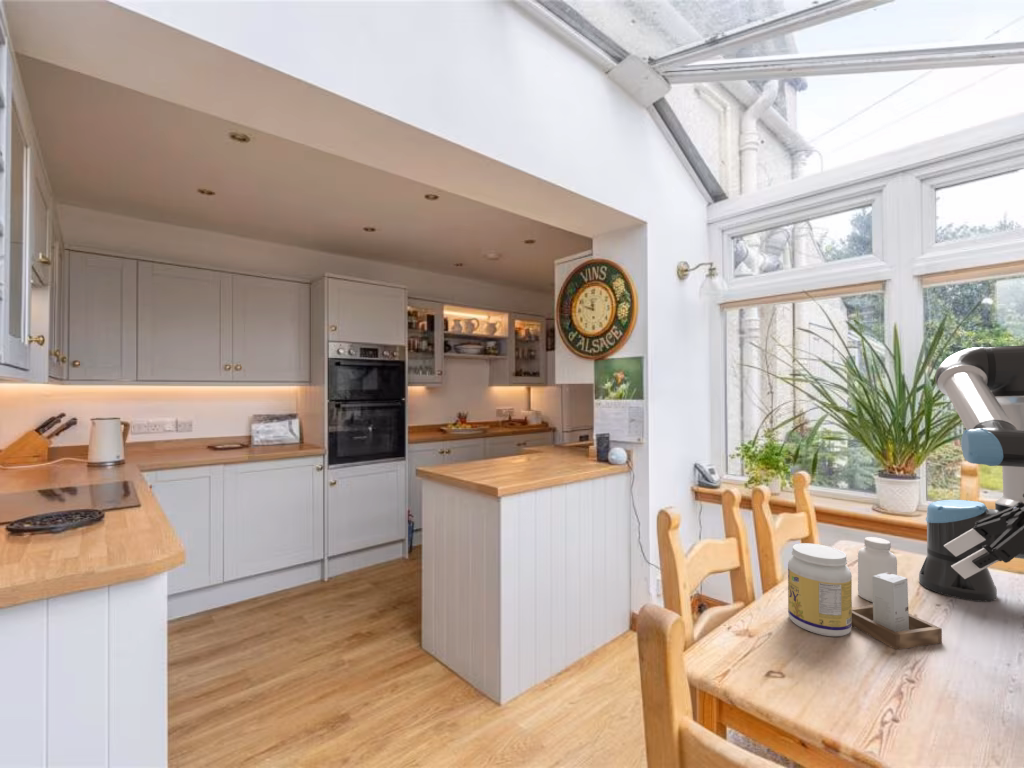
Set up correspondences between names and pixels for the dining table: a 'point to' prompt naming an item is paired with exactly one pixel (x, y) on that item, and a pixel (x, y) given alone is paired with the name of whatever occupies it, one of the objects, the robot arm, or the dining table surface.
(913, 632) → the holder
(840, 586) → the supplement tub
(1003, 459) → the robot arm
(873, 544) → the pill bottle
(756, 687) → the dining table surface
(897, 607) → the skincare box
